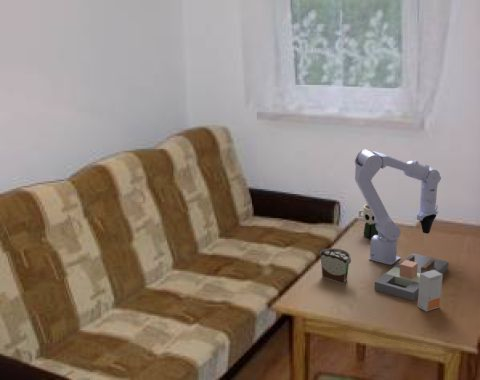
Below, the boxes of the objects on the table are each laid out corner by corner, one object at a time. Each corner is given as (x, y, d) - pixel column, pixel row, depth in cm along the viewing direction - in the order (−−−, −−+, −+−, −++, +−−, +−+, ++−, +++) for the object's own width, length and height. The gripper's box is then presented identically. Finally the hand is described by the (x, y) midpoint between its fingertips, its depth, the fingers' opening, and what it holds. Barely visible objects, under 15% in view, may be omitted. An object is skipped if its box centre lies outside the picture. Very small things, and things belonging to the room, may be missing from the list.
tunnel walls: (400, 268, 226) (401, 261, 225) (410, 260, 232) (410, 254, 231) (424, 274, 221) (425, 268, 220) (434, 266, 226) (434, 260, 226)
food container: (357, 279, 225) (358, 253, 222) (347, 285, 221) (348, 259, 218) (328, 270, 233) (329, 245, 230) (319, 275, 229) (319, 250, 226)
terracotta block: (399, 276, 220) (400, 264, 219) (405, 271, 224) (405, 259, 222) (411, 279, 217) (412, 267, 216) (417, 274, 221) (417, 262, 219)
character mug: (356, 237, 262) (357, 208, 258) (359, 231, 269) (360, 202, 265) (383, 240, 259) (384, 210, 255) (385, 234, 265) (386, 205, 261)
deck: (374, 289, 217) (374, 281, 216) (411, 260, 239) (412, 253, 239) (412, 300, 209) (413, 292, 208) (447, 269, 231) (448, 261, 230)
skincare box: (426, 312, 201) (428, 278, 198) (417, 306, 205) (419, 273, 201) (440, 307, 204) (443, 274, 200) (431, 302, 208) (433, 269, 204)
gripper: (430, 206, 229) (428, 240, 233) (446, 195, 239) (443, 229, 243) (412, 202, 233) (410, 236, 237) (428, 192, 243) (426, 225, 248)
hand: (426, 232), depth 240 cm, fingers closed
